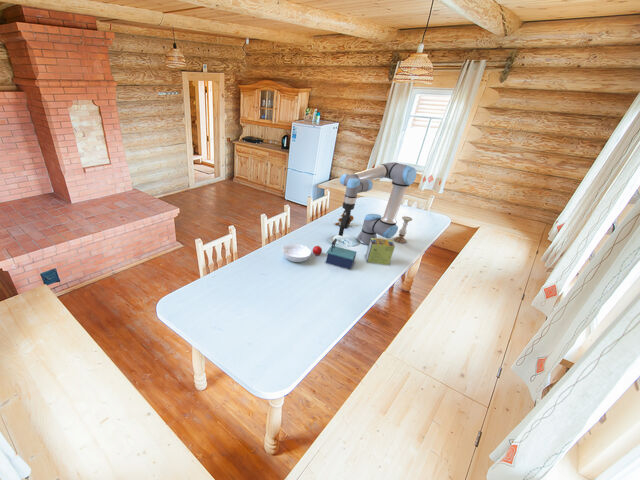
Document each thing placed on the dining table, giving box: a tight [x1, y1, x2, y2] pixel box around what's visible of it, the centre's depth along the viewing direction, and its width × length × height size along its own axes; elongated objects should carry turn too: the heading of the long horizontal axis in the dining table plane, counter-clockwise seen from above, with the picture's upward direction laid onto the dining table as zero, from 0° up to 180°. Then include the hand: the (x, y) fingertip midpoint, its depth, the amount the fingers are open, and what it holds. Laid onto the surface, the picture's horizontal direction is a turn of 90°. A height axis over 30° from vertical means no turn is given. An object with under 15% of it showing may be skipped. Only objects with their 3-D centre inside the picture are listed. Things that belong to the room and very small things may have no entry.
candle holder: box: [394, 215, 413, 244], centre depth 259 cm, size 9×9×20 cm
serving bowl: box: [281, 243, 312, 263], centre depth 233 cm, size 21×21×7 cm
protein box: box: [365, 238, 396, 266], centre depth 231 cm, size 10×15×16 cm
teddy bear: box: [335, 213, 355, 226], centre depth 284 cm, size 10×14×13 cm
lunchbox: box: [325, 253, 357, 270], centre depth 229 cm, size 18×13×8 cm
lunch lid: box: [326, 238, 357, 260], centre depth 225 cm, size 18×13×8 cm
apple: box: [311, 245, 323, 256], centre depth 238 cm, size 7×7×8 cm
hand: (342, 231), depth 219 cm, fingers open, 13 cm apart
